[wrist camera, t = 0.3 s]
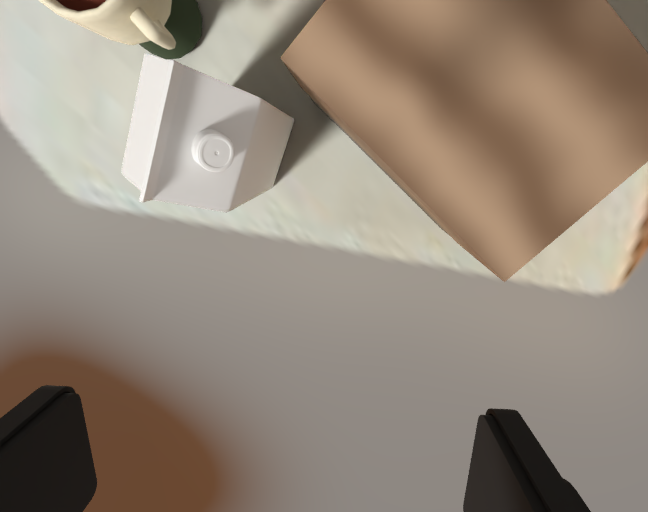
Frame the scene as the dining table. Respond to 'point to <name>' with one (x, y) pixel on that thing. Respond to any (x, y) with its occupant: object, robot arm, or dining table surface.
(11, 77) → the dining table surface
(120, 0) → the character mug
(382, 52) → the cabinet
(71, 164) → the dining table surface
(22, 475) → the robot arm
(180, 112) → the milk carton
